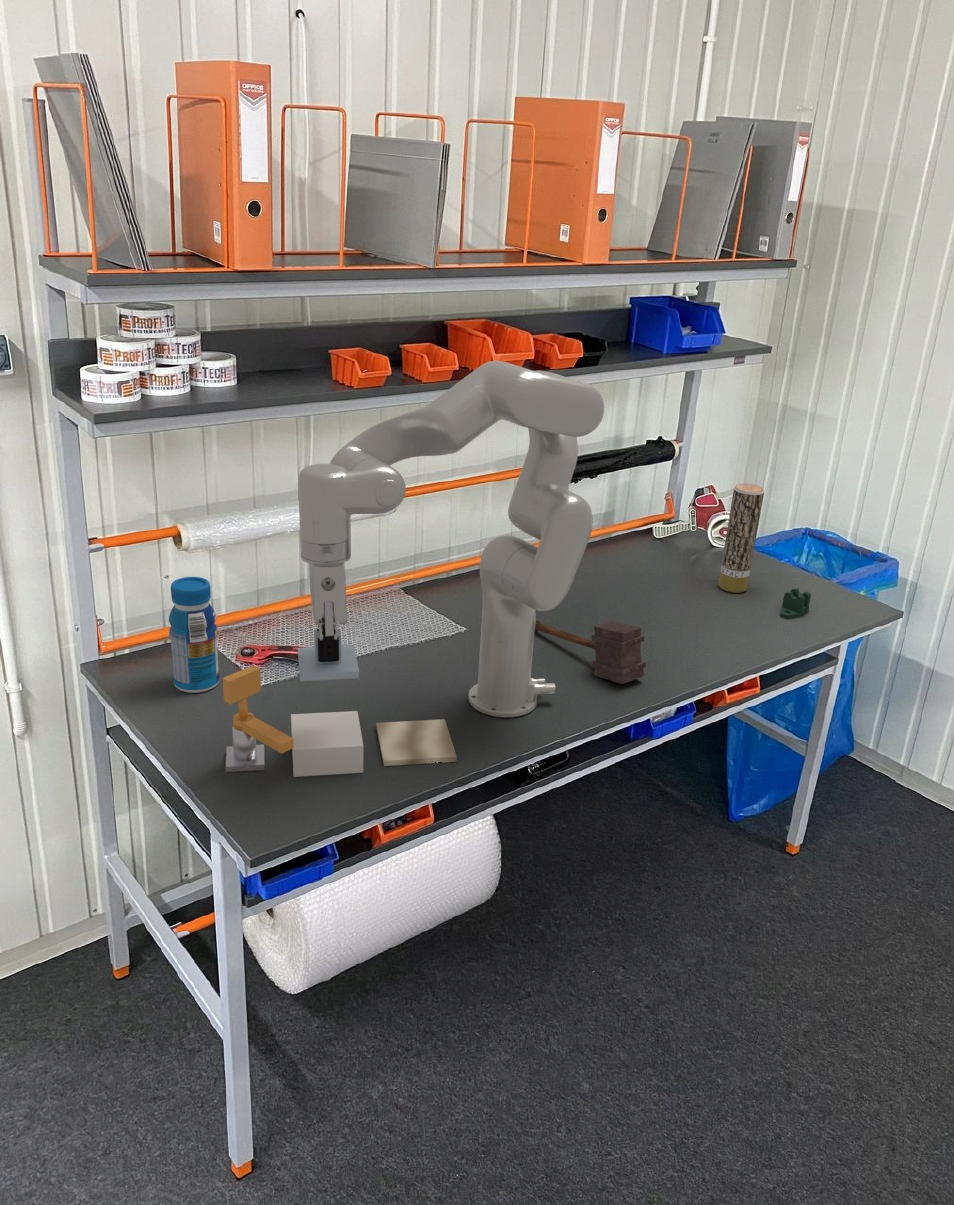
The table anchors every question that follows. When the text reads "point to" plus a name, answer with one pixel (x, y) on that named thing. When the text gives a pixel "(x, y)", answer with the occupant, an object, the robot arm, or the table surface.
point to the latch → (239, 690)
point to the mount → (795, 604)
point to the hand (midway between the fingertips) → (328, 655)
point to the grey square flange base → (244, 753)
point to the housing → (326, 743)
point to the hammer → (610, 649)
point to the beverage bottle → (193, 636)
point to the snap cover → (327, 663)
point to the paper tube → (741, 537)
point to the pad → (415, 742)
